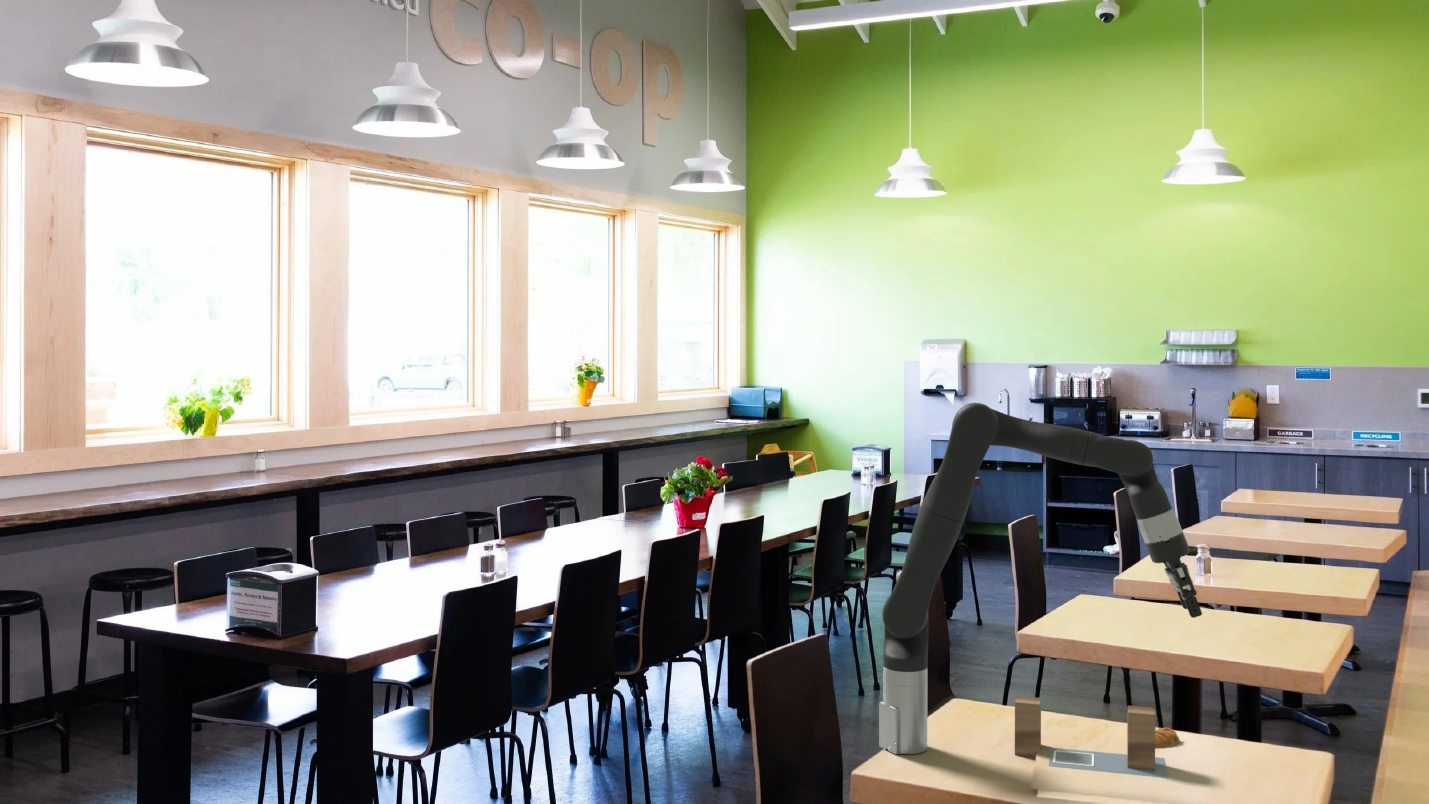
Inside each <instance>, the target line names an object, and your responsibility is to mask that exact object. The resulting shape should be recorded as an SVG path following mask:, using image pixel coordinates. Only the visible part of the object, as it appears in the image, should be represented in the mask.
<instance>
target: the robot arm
mask: <svg viewBox="0 0 1429 804" xmlns="http://www.w3.org/2000/svg"><path fill="white" fill-rule="evenodd" d="M991 446H994V447H1005V448H1006V447H1007V448H1014V449H1019V450H1022V451H1026V452H1030V453H1035V454H1037V455H1040V456H1043V457H1047V458H1050V459H1054V460H1058V461H1061V462H1065V463H1069V464H1070V463H1072V464H1076V465H1080V466H1085V467H1094V468H1095V467H1096V468H1099V469H1102V470H1105V471H1109V472H1113V473H1116V474H1118V476H1119V478H1120V480H1121V483H1122V484H1123V486H1124V488H1125V491H1126V492H1127V494H1128V498H1129V501H1130V504H1131V507H1132V510H1133V512H1134V515H1135V517H1136V520H1137V524H1138V529H1139V531H1140V534H1141V537H1142V540H1143V542H1144V544H1145V547H1146V549H1147V552H1148V554H1149V558H1150V559H1151V562H1153V563H1154V564H1163V565H1164V566H1165V568H1164V572H1165V574H1166V576H1167V578H1168V581H1169V582H1170V584H1171V586H1173V589H1174V591H1175V592H1176V593H1177V597H1179V600H1180V603H1181V606H1182V608H1183V609H1184V610H1188V611H1187V612H1188V615H1189V616H1190V617H1191V618H1198V617H1201V616H1202V615H1203V612H1202V609H1201V606H1200V604H1199V602H1198V598H1197V590H1196V589H1195V586H1194V581H1193V579H1192V577H1191V574H1190V570H1189V567H1188V565H1187V564H1185V562H1182V561H1181V558H1182V557H1186V556H1187V555H1188V554H1189V553H1190V547H1189V544H1188V541H1187V538H1186V536H1185V534H1184V531H1183V529H1182V526H1181V524H1180V521H1179V519H1178V516H1177V515H1176V513H1175V511H1174V509H1173V507H1172V504H1171V501H1170V499H1169V498H1168V495H1167V492H1166V490H1165V488H1164V487H1163V485H1162V484H1161V483H1160V481H1159V479H1158V476H1157V473H1156V471H1155V468H1154V466H1153V463H1154V457H1153V453H1152V451H1151V449H1150V448H1149V446H1147V445H1146V444H1145V443H1143V442H1142V441H1141V442H1140V441H1138V440H1134V439H1124V438H1117V437H1111V436H1106V435H1102V434H1100V433H1096V432H1093V431H1089V430H1084V429H1079V428H1075V427H1070V426H1064V425H1058V424H1051V423H1045V422H1039V421H1032V420H1028V419H1025V418H1020V417H1016V416H1012V415H1009V414H1006V413H1004V412H1001V411H998V410H995V409H993V408H991V407H989V406H988V405H986V404H985V403H981V402H971V403H968V404H964V405H963V406H962V407H961V408H959V410H957V412H955V415H954V417H953V419H952V425H951V429H950V435H949V439H948V443H947V446H946V449H945V453H944V456H943V459H942V461H941V465H940V467H939V469H938V470H937V473H936V475H935V476H934V478H933V480H932V482H931V484H930V485H929V487H928V490H926V491H927V492H926V494H925V496H924V498H923V501H922V503H921V505H920V508H919V511H918V514H917V516H916V518H915V522H914V525H913V528H912V532H911V535H910V539H909V542H908V547H907V550H906V555H905V560H904V563H903V566H902V569H901V572H900V575H899V577H898V579H897V581H896V583H895V585H894V587H893V590H892V591H891V592H890V595H889V596H888V597H887V599H886V601H885V603H884V605H883V607H882V613H881V615H882V616H881V617H882V621H883V625H884V636H883V638H884V639H883V640H884V641H883V653H882V667H883V669H882V670H883V671H882V673H883V674H882V678H883V679H882V686H883V687H882V694H883V695H882V696H883V697H882V701H880V702H879V703H878V706H879V707H878V709H879V710H878V714H879V715H878V726H879V727H878V730H879V731H878V737H879V738H878V746H879V748H882V749H884V750H886V749H888V748H889V746H890V748H889V749H888V750H887V751H888V752H890V753H891V754H894V755H916V754H921V753H924V752H926V751H927V750H928V660H929V658H928V657H929V656H928V654H929V607H930V604H931V600H932V596H933V594H934V593H933V592H934V589H935V586H936V584H937V580H938V579H939V576H940V574H941V573H942V571H943V569H944V567H945V565H946V564H947V561H948V560H949V557H950V555H951V554H952V551H953V549H954V547H955V545H956V542H957V540H958V537H959V535H960V533H961V531H962V530H961V529H962V527H963V525H964V522H965V519H966V516H967V512H968V510H969V505H970V502H971V499H972V493H973V490H974V486H975V485H974V484H975V481H976V477H977V474H978V472H979V469H980V467H981V465H982V463H983V461H984V459H985V457H986V455H987V452H988V451H989V448H990V447H991ZM895 743H896V744H895Z"/></svg>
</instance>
